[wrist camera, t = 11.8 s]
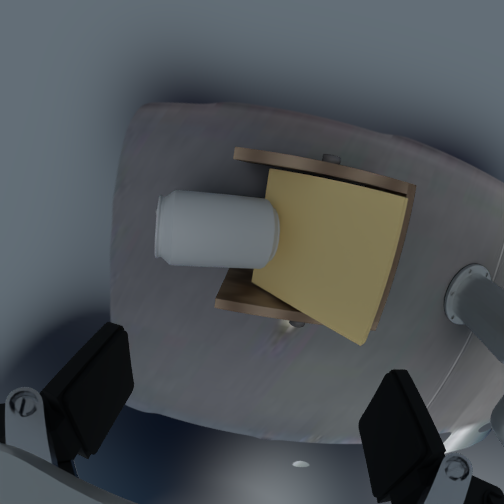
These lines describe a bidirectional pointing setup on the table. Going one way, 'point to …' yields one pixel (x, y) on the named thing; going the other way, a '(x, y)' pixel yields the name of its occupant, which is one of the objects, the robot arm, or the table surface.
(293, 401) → the table surface
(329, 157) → the trapdoor frame
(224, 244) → the can
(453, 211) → the table surface
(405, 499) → the robot arm
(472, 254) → the table surface
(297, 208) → the trapdoor flap
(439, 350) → the table surface
